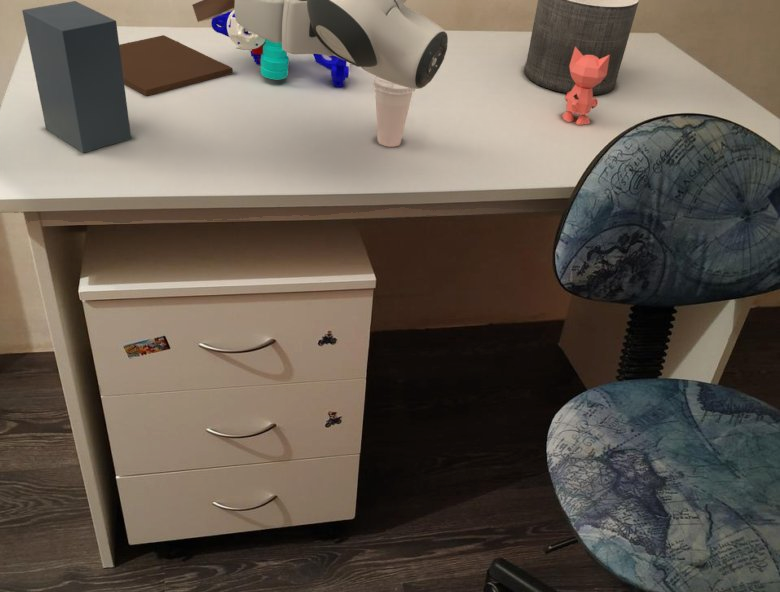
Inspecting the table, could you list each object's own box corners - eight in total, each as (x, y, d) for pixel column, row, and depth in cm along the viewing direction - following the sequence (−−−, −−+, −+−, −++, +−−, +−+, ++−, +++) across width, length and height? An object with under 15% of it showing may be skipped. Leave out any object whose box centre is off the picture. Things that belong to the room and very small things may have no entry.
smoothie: (365, 133, 128) (371, 43, 119) (403, 132, 130) (412, 43, 121) (374, 150, 124) (381, 58, 115) (414, 150, 125) (424, 58, 116)
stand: (83, 153, 115) (62, 31, 104) (45, 129, 119) (21, 9, 108) (131, 138, 120) (116, 20, 109) (93, 116, 124) (75, 0, 113)
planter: (622, 100, 149) (648, 11, 139) (528, 90, 149) (546, 0, 138) (607, 67, 163) (629, -17, 152) (520, 57, 162) (536, -27, 152)
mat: (146, 96, 132) (145, 90, 131) (78, 59, 141) (77, 53, 140) (232, 73, 142) (232, 67, 142) (164, 40, 152) (163, 35, 151)
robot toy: (363, 23, 133) (209, 10, 129) (356, 95, 141) (211, 84, 137) (354, -5, 145) (213, -18, 141) (348, 63, 153) (214, 52, 149)
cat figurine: (599, 119, 142) (618, 49, 134) (589, 132, 137) (608, 61, 129) (561, 109, 144) (577, 39, 136) (549, 121, 139) (566, 50, 131)
